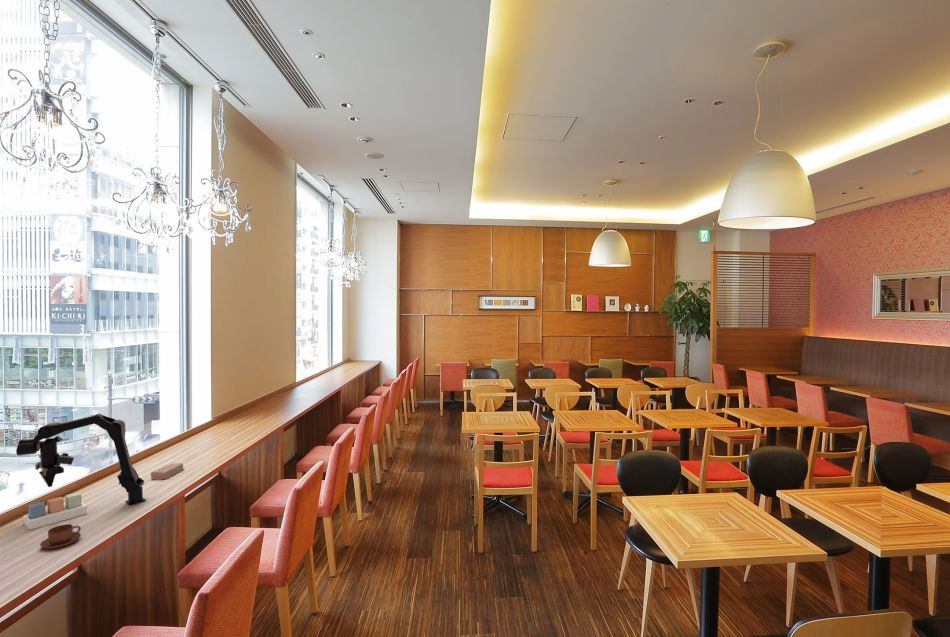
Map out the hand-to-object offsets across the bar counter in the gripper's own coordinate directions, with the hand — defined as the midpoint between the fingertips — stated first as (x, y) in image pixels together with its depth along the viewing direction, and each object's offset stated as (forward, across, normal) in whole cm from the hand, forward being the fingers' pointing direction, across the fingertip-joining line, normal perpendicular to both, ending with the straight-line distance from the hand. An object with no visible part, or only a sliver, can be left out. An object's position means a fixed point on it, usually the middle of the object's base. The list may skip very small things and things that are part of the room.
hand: (50, 486), depth 215 cm
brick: (+13, +14, -53) cm, 56 cm away
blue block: (+10, -8, +6) cm, 14 cm away
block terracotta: (+10, -8, 0) cm, 13 cm away
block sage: (+10, -8, -6) cm, 14 cm away
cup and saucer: (+13, -40, +6) cm, 42 cm away
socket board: (+12, -8, 0) cm, 15 cm away
